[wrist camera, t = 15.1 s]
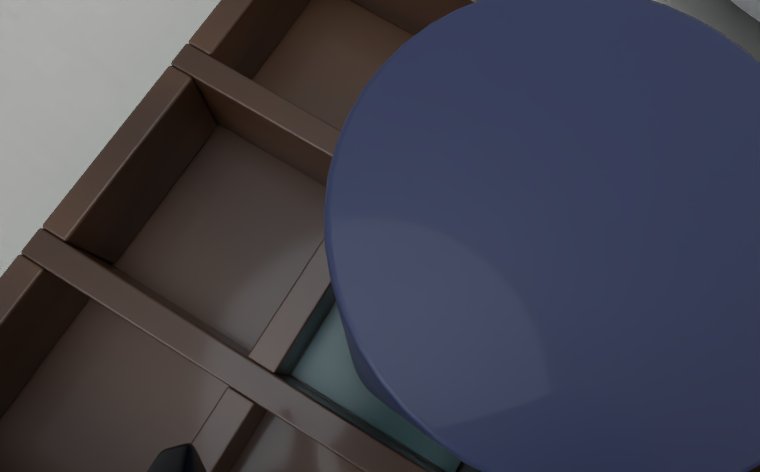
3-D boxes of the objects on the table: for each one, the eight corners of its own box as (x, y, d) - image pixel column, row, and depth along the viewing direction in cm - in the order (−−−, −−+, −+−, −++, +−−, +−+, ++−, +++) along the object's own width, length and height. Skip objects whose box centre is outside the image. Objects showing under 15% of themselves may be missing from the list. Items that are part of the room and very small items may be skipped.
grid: (559, 893, 14) (623, 1054, 11) (-57, 464, 16) (-168, 486, 13) (819, 240, 19) (920, 208, 15) (316, -31, 21) (308, -112, 17)
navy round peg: (510, 368, 17) (978, 319, 4) (392, 438, 16) (512, 640, 3) (440, 252, 17) (652, -86, 5) (325, 315, 17) (228, 112, 4)
